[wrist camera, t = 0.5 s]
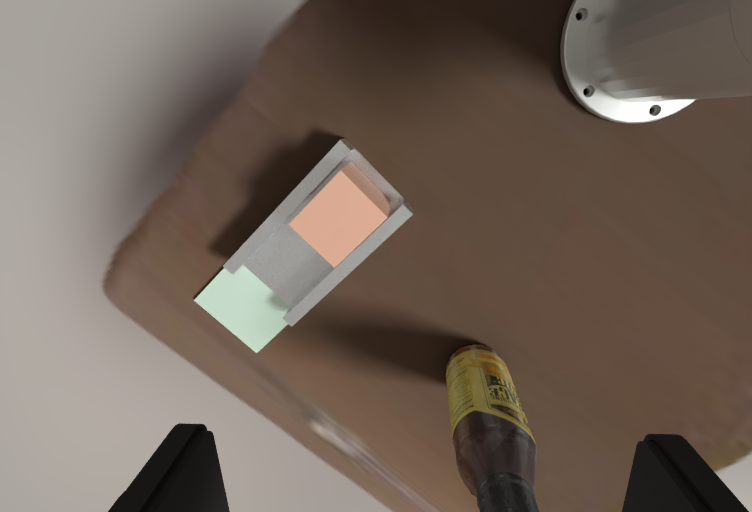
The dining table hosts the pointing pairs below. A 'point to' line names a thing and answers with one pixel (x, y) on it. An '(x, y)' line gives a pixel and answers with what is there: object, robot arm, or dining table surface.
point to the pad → (245, 307)
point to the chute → (298, 258)
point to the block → (342, 215)
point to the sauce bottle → (490, 432)
